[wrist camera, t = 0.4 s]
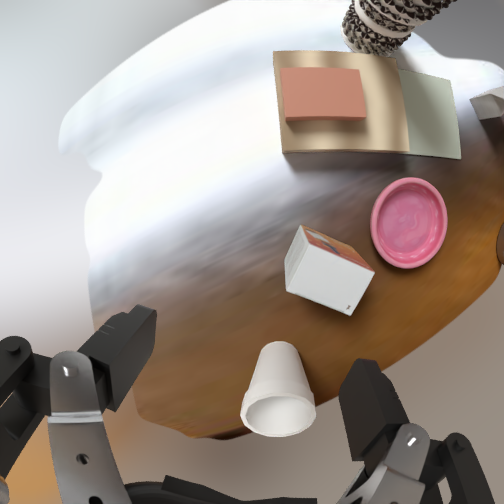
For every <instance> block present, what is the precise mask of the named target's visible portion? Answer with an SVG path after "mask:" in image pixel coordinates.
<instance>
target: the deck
mask: <svg viewBox="0 0 504 504" xmlns="http://www.w3.org/2000/svg"><path fill="white" fill-rule="evenodd" d="M273 66H274V74H275V83H276V92H277V101H278V111H279V121H280V132H281V143H282V153H300V152H381V153H403V152H410V148H409V137H408V127H407V119H406V112H405V105H404V98H403V93H402V87H401V82H400V77H399V72H398V67H397V63H396V58H391V57H385V56H378V55H370V54H361V53H351V52H337V51H273ZM293 67H324V68H346V69H359V71H360V77H361V82H362V88H363V95H364V102H365V109H366V118H365V119H363V120H361V121H345V120H304V121H285V116H284V106H283V96H282V87H281V79H280V68H293Z"/></svg>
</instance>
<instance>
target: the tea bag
mask: <svg viewBox="0 0 504 504" xmlns="http://www.w3.org/2000/svg"><path fill="white" fill-rule="evenodd" d="M469 100H470V102H471V104H472V106H473V108H474V110H475V112H476V114H477V116H478V119H479V120H481V119H487V118H493V117H500V116H502V115H504V86H502V87H499V88H495V89H491V90H488V91H486V92H484V93H482V94H480V95H478V96H475V97H473V98H471V99H469Z"/></svg>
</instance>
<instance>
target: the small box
mask: <svg viewBox="0 0 504 504" xmlns="http://www.w3.org/2000/svg"><path fill="white" fill-rule="evenodd" d="M284 262H285V280H286V291H287V292H290V293H293V294H296V295H299V296H302V297H304V298H307V299H309V300H312V301H315V302H317V303H320V304H322V305H325V306H328V307H330V308H333V309H335V310H338V311H340V312H342V313H344V314H347V315H349V316H351V314H352V313H353V311H354V309H355V308H356V306H357V304H358V303H359V301H360V299H361V297H362V296H363V294H364V292H365V290H366V288H367V287H368V285H369V283H370V281H371V279H372V277H373V275H374V273H375V272H374V271H373V270H372V268H371V267H370V266H369V265H368V264H367V263H366V262H365V261H364V260H363V258H362V257H361V256H360V255H359V254H358V253H357V252H356V251H355V250H354V249H353V248H352V247H351V246H349V245H347V244H344V243H342V242H339V241H337V240H335V239H333V238H331V237H328V236H326V235H324V234H322V233H320V232H317V231H315V230H313V229H311V228H308V227H306V226H304V225H300V227H299V229H298V231H297V233H296V235H295V237H294V240H293V242H292V244H291V246H290V248H289V251H288V253H287V255H286V257H285V260H284Z"/></svg>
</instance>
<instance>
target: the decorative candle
mask: <svg viewBox="0 0 504 504" xmlns="http://www.w3.org/2000/svg"><path fill="white" fill-rule="evenodd" d="M452 1H453V2H455V1H457V0H443V2H442V3H441V0H352V4H351V5H350V6H349V9H350V10H348V11H347V12H346V16H345V17H344V21H343V22H342V25H341V36H342V38H343V40H344V42H345V43H346V44H347V45H348V46H349V47H350V48H351V49H352V50H353V51H354V52H356V53H361V54H370V55H378V56H385V57H388V56H390V55H391V54H392V53H394V51H393V50H397V49H398V47H397V45H398V46H401V45H402V44H403V42H404V41H406V40H407V39H408V37H410V36H411V32H412V31H413V30H414V28H415V26H419V25H421V24H423V23H425V22H426V21H427V20H431V19H432V16H434V15H435V14H439V13H440V9H442V8H443V7H444V8H448V7H449V4H450V3H451V2H452Z"/></svg>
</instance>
